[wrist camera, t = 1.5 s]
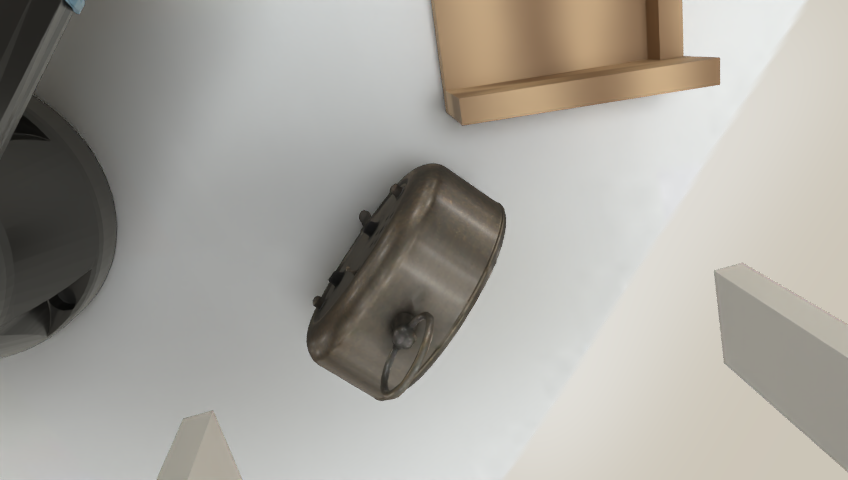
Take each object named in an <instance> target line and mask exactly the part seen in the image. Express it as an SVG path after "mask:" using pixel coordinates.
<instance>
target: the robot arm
mask: <svg viewBox="0 0 848 480" xmlns="http://www.w3.org/2000/svg"><path fill="white" fill-rule="evenodd" d="M84 5H85V0H0V358H3V357H7V356H10V355H14V354H17V353H19V352H22V351H25V350H27V349H29V348H32V347H34V346H36V345H38V344H39V343H41V342H43V341H45V340H47V339H48V338H50V337H51V336H53V335H54V334H56V333H57V332H58V331H60V330H61V329H62V328H64V327H65V326H66V325H67V324H68V323H69V322H70V321H71V320H72V319H73V318H74V317H76V316H77V315H78V314H79V313H80V312H81V311H82V310H83V309H84V308H85V307H86V306H87V305H88V304H89V303H90V302H91V300H92V299H93V298H94V297H95V295H96V294H97V292H98V291H99V289H100V288H101V286H102V284H103V283H104V281H105V279H106V277H107V274H108V272H109V269H110V266H111V263H112V260H113V256H114V252H115V245H116V215H115V208H114V203H113V199H112V195H111V191H110V188H109V185H108V183H107V180H106V178H105V175H104V173H103V171H102V169H101V167H100V165H99V163H98V161H97V160H96V158H95V156H94V155H93V153H92V151H91V150H90V149H89V147H88V146H87V144H86V143H85V142H84V140H83V139H82V138H81V137H80V135H79V134H78V133H77V132H76V131H75V130H74V129H73V128H72V127H71V125H70V124H69V123H67V122H66V121H65V120H64V119H63V118H62V117H61V116H60V115H59V114H58V113H56V112H55V111H54V110H53V109H52V108H50V107H49V106H48V105H46V104H45V103H43V102H42V101H41V100H39V99H37V98H36V97H34V96H33V93H34V90H35V88H36V86H37V84H38V82H39V80H40V78H41V76H42V74H43V72H44V70H45V68H46V66H47V64H48V62H49V60H50V58H51V56H52V54H53V52H54V50H55V48H56V46H57V44H58V42H59V40H60V38H61V36H62V34H63V32H64V30H65V28H66V26H67V24H68V22H69V20H70V18H71V16H72V14H73V12H75V13H77V14H80V12H81V10H82V9H83V7H84ZM714 276H715V285H716V294H717V303H718V312H719V322H720V331H721V340H722V348H723V358H724V364H726V365H727V366H728V367H729V368H730V369H731V370H733V371H734V372H735V373H736V374H737V375H738V376H739V377H740V378H742V379H743V380H744V381H745V382H746V383H747V384H748V385H749V386H751V387H752V388H753V389H754V390H755V391H756V392H757V393H759V394H760V395H761V396H762V397H763V398H764V399H765V400H766V401H768V402H769V403H770V404H771V405H772V406H773V407H774V408H776V409H777V410H778V411H779V412H780V413H781V414H782V415H783V416H785V417H786V418H787V419H788V420H789V421H790V422H791V423H793V424H794V425H795V426H796V427H797V428H798V429H799V430H800V431H802V432H803V433H804V434H805V435H806V436H807V437H809V438H810V439H811V440H812V441H813V442H814V443H815V444H816V445H817V446H819V447H820V448H821V449H822V450H823V451H824V452H826V453H827V454H828V455H829V456H830V457H831V458H832V459H833V460H835V461H836V462H837V463H838V464H839V465H840V466H841V467H843V468H844V469H845V470H846V471H847V472H848V324H847V323H845V322H843V321H842V320H840V319H838V318H837V317H835V316H833V315H831V314H830V313H828V312H826V311H825V310H823V309H821V308H819V307H818V306H816V305H814V304H813V303H811V302H809V301H807V300H806V299H804V298H802V297H801V296H799V295H797V294H795V293H794V292H792V291H790V290H789V289H787V288H785V287H783V286H782V285H780V284H778V283H777V282H775V281H773V280H771V279H770V278H768V277H766V276H764V275H763V274H761V273H759V272H758V271H756V270H754V269H752V268H751V267H749V266H747V265H746V264H744V263H740V264H736V265H732V266H729V267H725V268H722V269H718V270H714ZM157 480H242V478H241V475H240V473H239V471H238V468H237V466H236V464H235V461H234V459H233V456H232V454H231V452H230V449H229V447H228V445H227V442H226V440H225V437H224V435H223V433H222V430H221V428H220V426H219V423H218V421H217V418H216V416H215V414H214V411H209V412H205V413H202V414H198V415H195V416H191V417H187V418H184V419H183V420H182V423H181V425H180V427H179V430H178V432H177V434H176V436H175V439H174V441H173V443H172V446H171V448H170V450H169V452H168V455H167V457H166V459H165V461H164V464H163V466H162V468H161V471H160V473H159V475H158V477H157Z"/></svg>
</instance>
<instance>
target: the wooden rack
mask: <svg viewBox="0 0 848 480" xmlns="http://www.w3.org/2000/svg"><path fill="white" fill-rule="evenodd" d="M431 3H432V10H433V18H434V25H435V33H436V40H437V48H438V55H439V63H440V70H441V78H442V85H443V92H444V100H445V107H446V112H447V113H448V114H449V115H451V116H452V117H453V118H454V119H455V120H456V121H458V122H459V123H460V124H461V125H462V126H463V125H469V124H476V123H482V122H488V121H494V120H501V119H507V118H513V117H519V116H526V115H532V114H538V113H545V112H551V111H557V110H563V109H570V108H576V107H582V106H589V105H595V104H601V103H607V102H614V101H620V100H626V99H633V98H639V97H645V96H651V95H658V94H664V93H670V92H676V91H683V90H689V89H695V88H702V87H708V86H714V85H720V58H716V57H690V56H683V17H682V0H431Z"/></svg>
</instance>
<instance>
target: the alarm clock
mask: <svg viewBox="0 0 848 480" xmlns="http://www.w3.org/2000/svg"><path fill="white" fill-rule="evenodd" d="M359 219H360V221H361V222H362V224H363V228H362V229H361V232H360V234H359V236H358V237H357V239H356V241H355V242H354V244H353V245H352V247H351V248H350V250H349V251H348V253H347V254H346V256H345V258H344V259H343V261H342V262H341V264H340V266H339V267H338V269H337V270H336V271H334V273H333V274H332V275H331V277H330V278H329V282H330V283H329V284H328V286H327V288H326V289H325V291H324V293H323V295H322V297H320V296H316V297H315V298H314V300H313V305H314V306H315V307H316V309H315V311H314V313H313V316H312V318H311V321H310V324H309V327H308V332H307V347H308V351H309V353H310V356H311V357H312V359H313V360H314V361H315V362H316V363H317V364H318V365H320V366H322V367H323V368H325V369H327V370H328V371H330V372H332V373H333V374H335V375H337V376H338V377H340V378H342V379H343V380H345V381H347V382H348V383H350V384H352V385H354V386H355V387H357V388H359V389H360V390H362V391H364V392H366V393H367V394H369V395H370V396H372V397H374V398H375V399H376V400H380V401H384V400H390V399H395V398H397V397H399V396H400V395H401V394H402V393H403V392H404V391H405V390H406V389H407V388H409V387H410V386H412V385H413V384H414V383H415V382H416V381H417V380H419V379H420V378H421V377H422V376H423V375H424V373H425V372H426V371H427V370H428V369H429V368H430V367H431V366H432V365H433V363H434V362H435V361H436V360H437V358H438V357H439V356H440V354H441V353H442V352H443V351H444V349H445V348H446V347H447V345H448V344H449V343H450V341H451V340H452V338H453V337H454V336H455V334H456V333H457V331H458V330H459V328H460V327H461V325H462V324H463V322H464V321H465V319H466V317H467V316H468V314H469V312H470V311H471V309H472V307H473V306H474V304H475V302H476V301H477V299H478V297H479V295H480V293H481V291H482V290H483V288H484V286H485V284H486V282H487V280H488V278H489V276H490V275H491V273H492V270H493V268H494V266H495V264H496V260H497V258H498V256H499V252H500V249H501V247H502V243H503V239H504V234H505V228H506V215H505V211H504V208H503V206H502V205H501V204H500V203H498V202H496V201H494V200H492V199H491V198H489V197H488V196H486V195H485V194H484V193H482V192H481V191H479V190H478V189H476V188H475V187H474V186H472V185H471V184H469V183H468V182H466V181H465V180H463V179H462V178H460V177H459V176H457V175H456V174H455V173H453V172H452V171H450V170H449V169H447V168H446V167H444V166H442V165H440V164H426V165H422V166H420V167H417V168H416V169H414V170H412V171H411V172H410V173H408V174H407V175H406V176H405V177H404V178H403V179H402V180H401V181H400V182H399V183H398V184H394V185H392V187H391V189H390V193H389V195H388V196H387V197H386V199H385V200H384V201H383V202H382V204H381V205H380V206H379V208H378V209H377V210H376V212H375V213H374V214H373V216H372V217H371V215H370V213H369V212H368V211H365V210H363V211H362V212H361V213H360V215H359Z"/></svg>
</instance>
